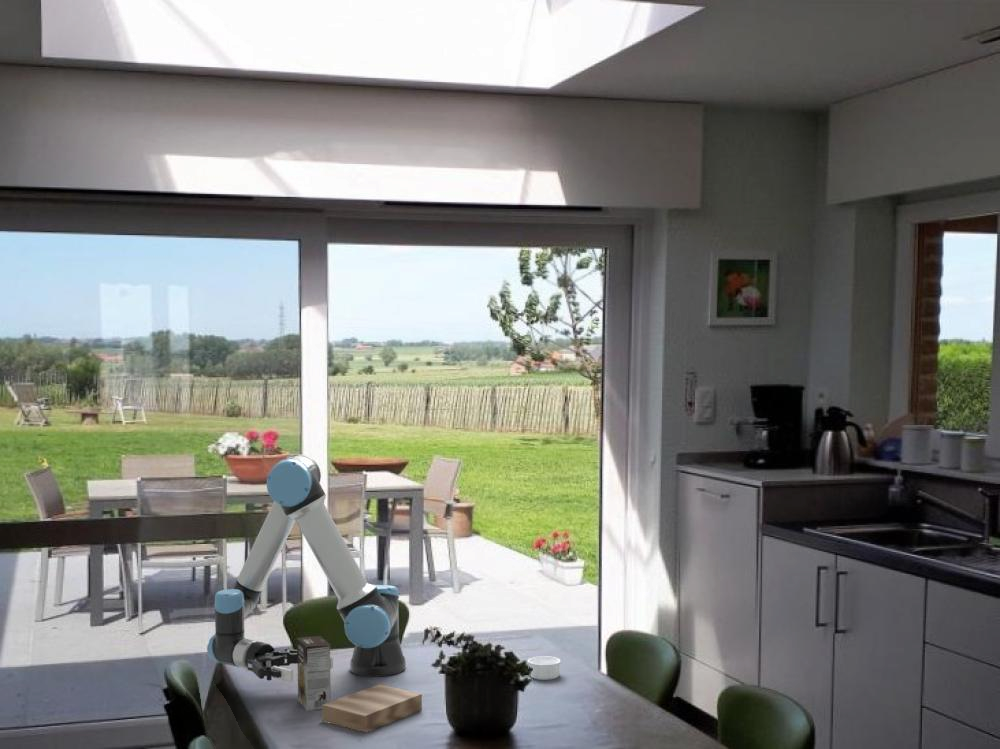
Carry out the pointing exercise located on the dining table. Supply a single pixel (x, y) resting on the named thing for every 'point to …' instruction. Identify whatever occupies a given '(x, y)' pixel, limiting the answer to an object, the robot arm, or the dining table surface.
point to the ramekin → (544, 667)
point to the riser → (372, 707)
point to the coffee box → (313, 672)
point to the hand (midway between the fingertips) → (312, 669)
